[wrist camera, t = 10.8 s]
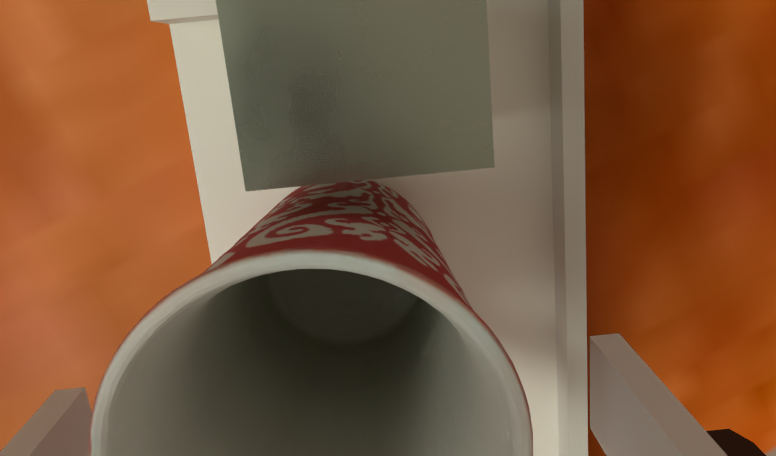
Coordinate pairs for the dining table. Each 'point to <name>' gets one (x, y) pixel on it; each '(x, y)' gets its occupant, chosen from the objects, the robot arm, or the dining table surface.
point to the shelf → (458, 194)
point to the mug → (316, 347)
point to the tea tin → (357, 88)
